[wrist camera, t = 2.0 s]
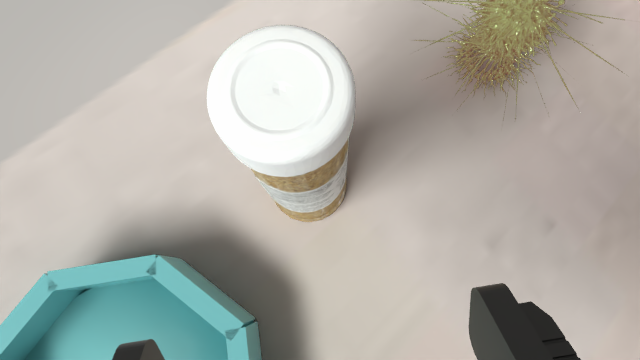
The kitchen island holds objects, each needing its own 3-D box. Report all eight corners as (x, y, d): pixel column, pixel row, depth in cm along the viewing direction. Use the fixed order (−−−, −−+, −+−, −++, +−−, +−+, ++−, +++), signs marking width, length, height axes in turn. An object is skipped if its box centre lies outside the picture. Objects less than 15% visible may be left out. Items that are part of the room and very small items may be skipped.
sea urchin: (621, 92, 26) (730, 20, 19) (460, 193, 25) (509, 157, 18) (502, -47, 29) (557, -158, 22) (351, 39, 28) (356, -46, 21)
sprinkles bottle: (285, 141, 26) (233, 2, 13) (356, 162, 26) (375, 39, 13) (260, 211, 25) (179, 136, 12) (334, 234, 25) (330, 181, 12)
